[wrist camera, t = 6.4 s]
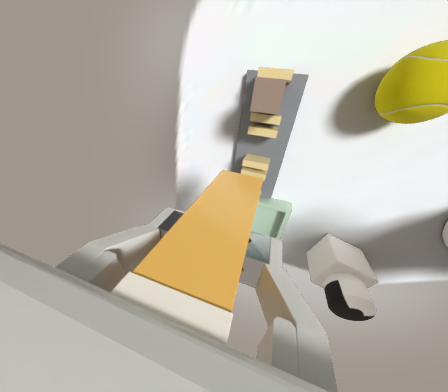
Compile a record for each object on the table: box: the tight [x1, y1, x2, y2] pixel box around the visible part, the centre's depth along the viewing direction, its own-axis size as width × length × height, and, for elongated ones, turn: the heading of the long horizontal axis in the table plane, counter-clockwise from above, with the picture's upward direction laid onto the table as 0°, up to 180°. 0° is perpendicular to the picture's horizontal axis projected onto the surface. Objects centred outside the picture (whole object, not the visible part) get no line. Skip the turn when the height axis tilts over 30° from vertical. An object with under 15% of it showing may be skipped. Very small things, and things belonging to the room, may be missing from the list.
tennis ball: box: [375, 40, 448, 124], centre depth 17 cm, size 7×7×7 cm
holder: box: [233, 67, 308, 205], centre depth 23 cm, size 19×8×9 cm, turn 174°
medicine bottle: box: [306, 234, 378, 321], centre depth 28 cm, size 7×7×12 cm
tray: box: [251, 196, 292, 239], centre depth 34 cm, size 12×10×3 cm
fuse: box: [110, 170, 263, 345], centre depth 8 cm, size 3×3×10 cm
